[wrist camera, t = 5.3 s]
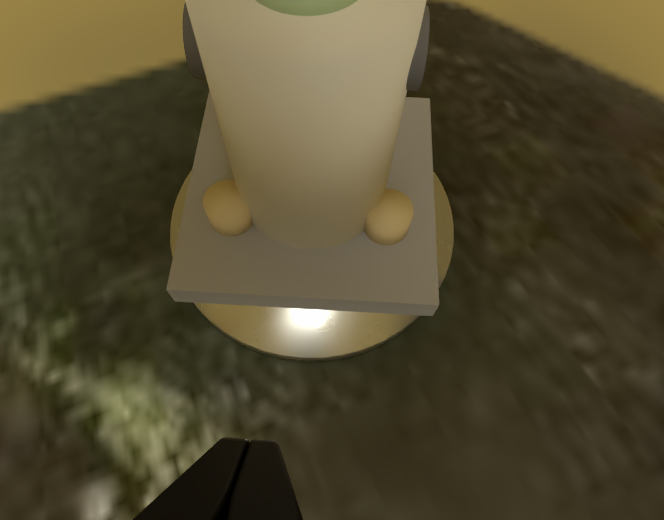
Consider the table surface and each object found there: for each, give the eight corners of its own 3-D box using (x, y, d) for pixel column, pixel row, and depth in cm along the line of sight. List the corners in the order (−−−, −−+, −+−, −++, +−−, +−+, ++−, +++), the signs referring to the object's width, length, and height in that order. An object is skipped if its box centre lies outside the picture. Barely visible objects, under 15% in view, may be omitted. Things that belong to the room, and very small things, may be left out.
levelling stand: (458, 371, 20) (471, 358, 18) (147, 353, 20) (130, 339, 18) (442, 129, 26) (452, 101, 24) (200, 115, 26) (191, 87, 24)
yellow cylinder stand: (432, 316, 19) (556, 118, 9) (175, 301, 19) (13, 88, 9) (424, 116, 23) (502, -166, 13) (215, 105, 23) (136, -185, 13)
